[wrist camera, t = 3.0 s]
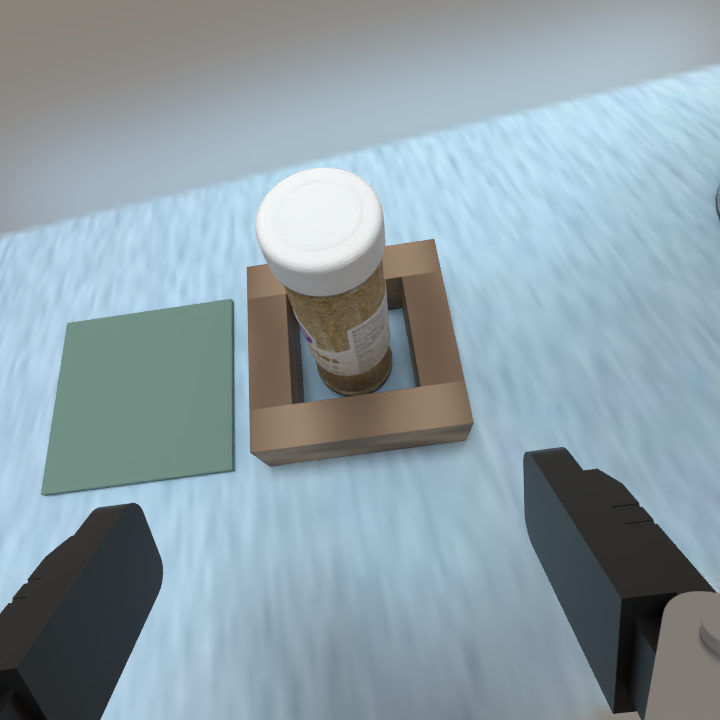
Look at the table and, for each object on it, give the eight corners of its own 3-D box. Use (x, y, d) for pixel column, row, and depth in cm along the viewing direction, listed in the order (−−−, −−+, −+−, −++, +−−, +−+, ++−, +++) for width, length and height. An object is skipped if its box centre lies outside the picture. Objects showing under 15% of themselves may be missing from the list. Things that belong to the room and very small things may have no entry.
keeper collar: (431, 272, 31) (434, 239, 27) (465, 440, 26) (473, 422, 23) (263, 297, 31) (246, 266, 28) (269, 466, 27) (250, 452, 24)
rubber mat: (233, 302, 31) (231, 299, 31) (234, 470, 27) (231, 469, 26) (71, 325, 32) (67, 323, 31) (45, 495, 27) (40, 494, 27)
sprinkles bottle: (303, 364, 29) (225, 216, 17) (356, 315, 30) (320, 142, 18) (355, 414, 27) (311, 292, 15) (410, 361, 28) (411, 206, 16)
